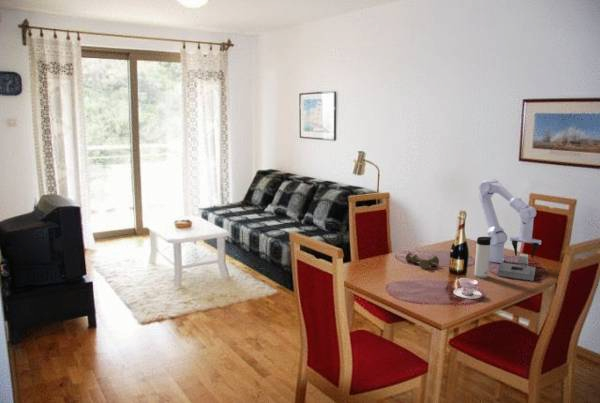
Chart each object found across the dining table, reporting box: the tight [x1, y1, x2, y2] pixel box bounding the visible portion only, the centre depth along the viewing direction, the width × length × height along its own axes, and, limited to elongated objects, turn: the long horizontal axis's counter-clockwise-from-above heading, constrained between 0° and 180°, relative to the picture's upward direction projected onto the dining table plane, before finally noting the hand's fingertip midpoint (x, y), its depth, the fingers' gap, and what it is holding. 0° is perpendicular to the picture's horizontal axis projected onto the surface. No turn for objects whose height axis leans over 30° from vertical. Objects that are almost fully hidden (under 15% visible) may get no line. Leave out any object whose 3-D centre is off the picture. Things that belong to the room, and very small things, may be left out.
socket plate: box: [497, 262, 536, 282], centre depth 244 cm, size 16×14×3 cm
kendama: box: [405, 252, 440, 270], centre depth 256 cm, size 6×10×20 cm
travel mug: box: [473, 236, 492, 279], centre depth 239 cm, size 6×7×20 cm
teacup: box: [453, 277, 483, 300], centre depth 217 cm, size 12×12×6 cm
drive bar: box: [518, 253, 529, 266], centre depth 253 cm, size 4×4×7 cm
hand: (523, 256), depth 252 cm, fingers open, 7 cm apart
